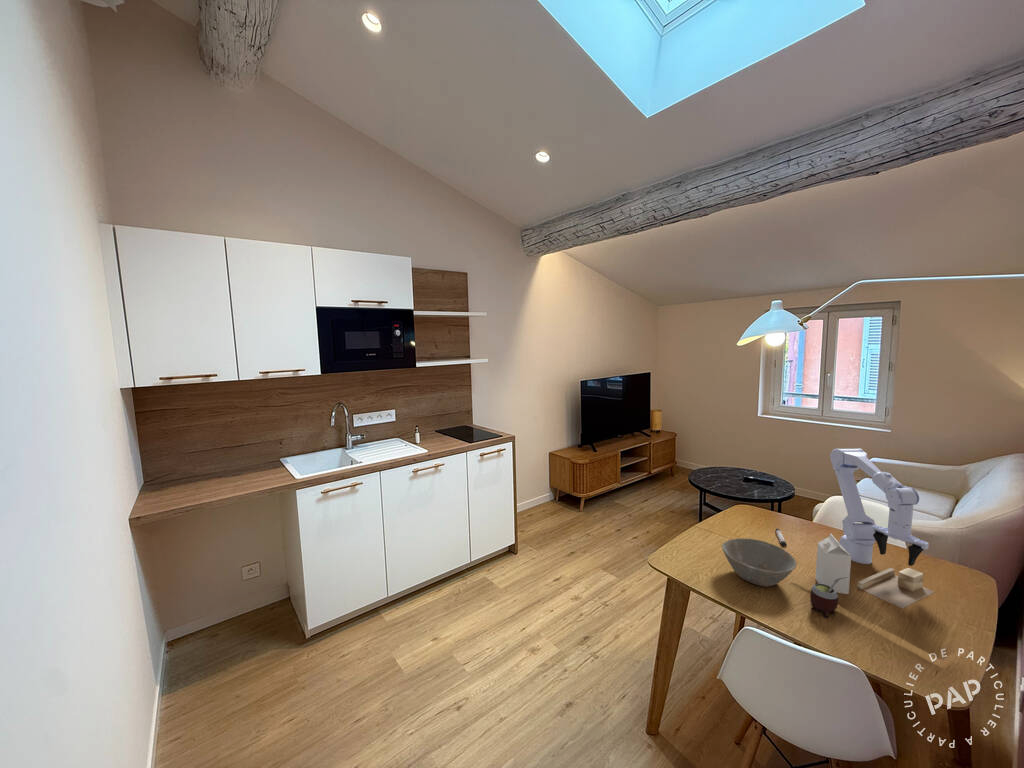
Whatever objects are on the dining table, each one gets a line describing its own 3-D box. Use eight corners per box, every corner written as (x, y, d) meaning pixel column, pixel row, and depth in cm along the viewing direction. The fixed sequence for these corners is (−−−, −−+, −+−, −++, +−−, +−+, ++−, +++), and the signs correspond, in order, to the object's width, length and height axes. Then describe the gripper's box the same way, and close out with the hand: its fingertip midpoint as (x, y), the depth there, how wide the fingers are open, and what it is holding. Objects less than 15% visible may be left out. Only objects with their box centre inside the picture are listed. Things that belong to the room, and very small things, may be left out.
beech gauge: (897, 585, 137) (898, 571, 137) (907, 580, 140) (908, 567, 139) (912, 591, 134) (913, 578, 133) (922, 587, 136) (923, 573, 135)
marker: (786, 547, 167) (786, 542, 167) (781, 546, 168) (781, 542, 167) (779, 531, 181) (779, 526, 180) (774, 530, 182) (774, 526, 181)
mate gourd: (806, 602, 132) (809, 559, 131) (836, 607, 129) (838, 564, 128) (813, 616, 125) (816, 572, 124) (844, 623, 122) (848, 577, 121)
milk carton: (839, 585, 140) (842, 534, 138) (848, 598, 134) (852, 544, 132) (815, 582, 143) (818, 532, 141) (823, 594, 136) (826, 541, 134)
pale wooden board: (856, 591, 137) (857, 581, 137) (889, 576, 145) (890, 567, 144) (901, 613, 126) (902, 602, 126) (934, 596, 134) (935, 586, 133)
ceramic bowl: (722, 556, 161) (723, 533, 160) (791, 571, 149) (792, 546, 148) (719, 586, 142) (720, 560, 141) (798, 606, 130) (800, 578, 129)
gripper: (867, 515, 141) (864, 551, 143) (922, 533, 128) (918, 573, 129) (878, 511, 144) (875, 547, 145) (933, 528, 131) (929, 567, 132)
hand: (896, 559), depth 138 cm, fingers open, 7 cm apart
